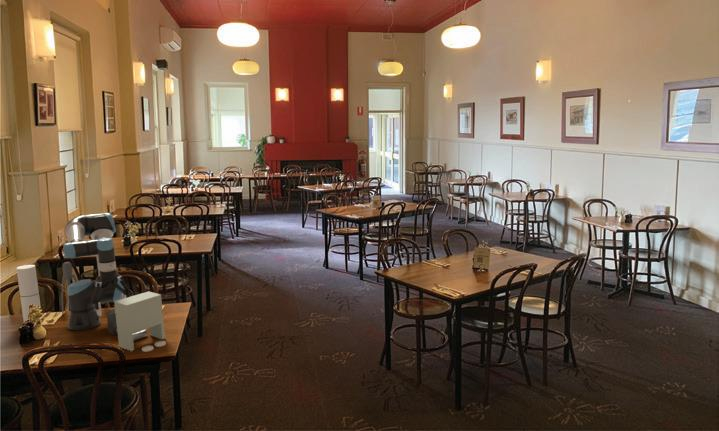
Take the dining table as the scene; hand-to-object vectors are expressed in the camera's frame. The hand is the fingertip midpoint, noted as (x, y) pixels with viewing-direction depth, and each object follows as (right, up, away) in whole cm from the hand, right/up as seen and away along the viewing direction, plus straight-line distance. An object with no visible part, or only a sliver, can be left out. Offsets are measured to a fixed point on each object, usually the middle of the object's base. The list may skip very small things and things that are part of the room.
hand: (112, 311), depth 289 cm
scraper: (+7, -12, -3) cm, 14 cm away
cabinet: (+19, -13, -12) cm, 26 cm away
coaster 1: (+25, -14, -21) cm, 35 cm away
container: (-51, -9, +21) cm, 56 cm away
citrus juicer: (-35, -7, +29) cm, 47 cm away
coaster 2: (+29, -13, -15) cm, 35 cm away
